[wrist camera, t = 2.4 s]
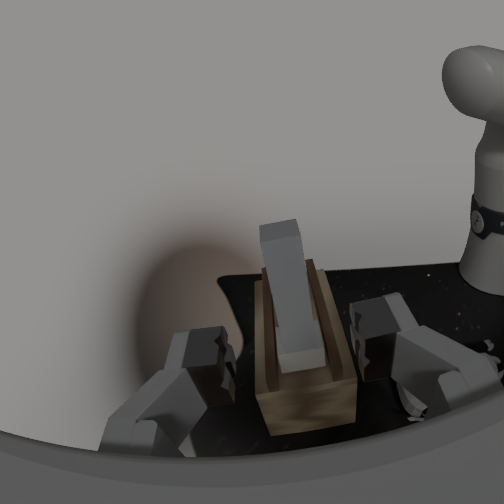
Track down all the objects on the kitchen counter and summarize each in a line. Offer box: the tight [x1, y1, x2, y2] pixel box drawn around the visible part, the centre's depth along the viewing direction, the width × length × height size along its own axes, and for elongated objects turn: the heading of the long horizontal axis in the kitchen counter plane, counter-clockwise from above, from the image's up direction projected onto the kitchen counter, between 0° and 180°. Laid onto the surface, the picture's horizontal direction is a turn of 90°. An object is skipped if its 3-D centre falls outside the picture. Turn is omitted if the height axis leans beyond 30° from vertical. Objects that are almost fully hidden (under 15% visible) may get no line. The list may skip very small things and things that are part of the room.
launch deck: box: [255, 259, 357, 436], centre depth 39 cm, size 10×20×11 cm, turn 0°
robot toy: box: [397, 340, 504, 421], centre depth 31 cm, size 12×4×15 cm
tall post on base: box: [260, 219, 326, 373], centre depth 29 cm, size 4×4×15 cm
